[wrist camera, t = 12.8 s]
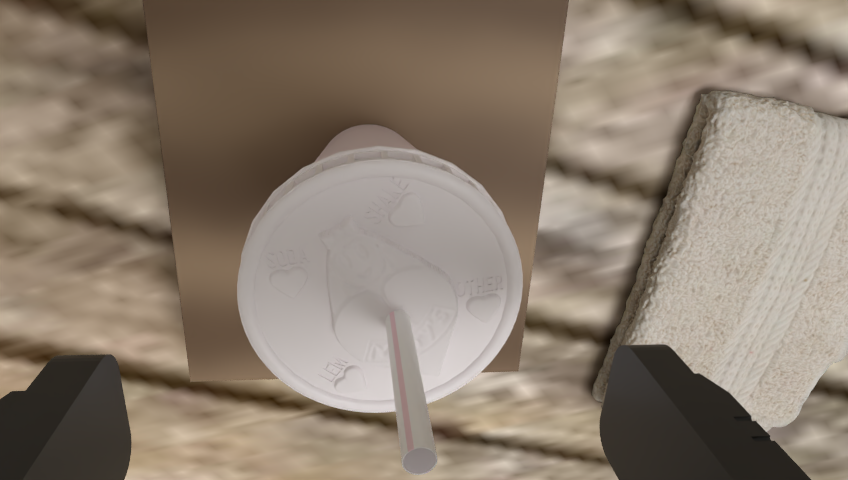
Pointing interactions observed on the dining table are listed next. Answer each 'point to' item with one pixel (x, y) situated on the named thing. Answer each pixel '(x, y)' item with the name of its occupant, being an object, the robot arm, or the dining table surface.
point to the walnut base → (337, 123)
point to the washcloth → (749, 255)
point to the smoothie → (380, 282)
